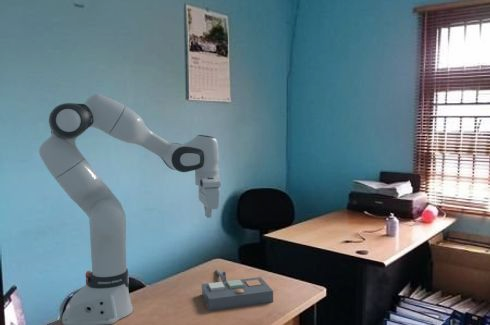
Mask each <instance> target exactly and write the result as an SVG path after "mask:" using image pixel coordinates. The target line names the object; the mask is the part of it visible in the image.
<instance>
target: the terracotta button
mask: <svg viewBox="0 0 490 325" xmlns="http://www.w3.org/2000/svg"><path fill="white" fill-rule="evenodd" d="M245 283H246V285H247V286H248V287H252V286H260V285H262V284H261V283H260V282H259V280H250V281H245Z"/></svg>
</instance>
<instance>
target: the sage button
mask: <svg viewBox="0 0 490 325" xmlns="http://www.w3.org/2000/svg"><path fill="white" fill-rule="evenodd" d="M226 281H227V286H228V288H229V289H236V288H244V284H243V283H242V282H241V279H233V280H226Z"/></svg>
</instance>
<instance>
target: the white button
mask: <svg viewBox="0 0 490 325" xmlns="http://www.w3.org/2000/svg"><path fill="white" fill-rule="evenodd" d="M208 288H209V290H210V292H212V291H220V290H225V286H224V285H223V283H222V281H218V282H217V281H216V282H209V283H208Z"/></svg>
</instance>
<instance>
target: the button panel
mask: <svg viewBox="0 0 490 325" xmlns="http://www.w3.org/2000/svg"><path fill="white" fill-rule="evenodd" d="M240 280H241V282H242V283H243V284H244V288H236V289H229V288H228V286H227V281H228V280H226V281H224V282H222V281H221V282H222V283H223V285H224V286H225V290H220V291H212V292H210V290H209V288H208V283H207V282H206V283H201V296H202V298H203V299H204V302H205V304H206V307H207V309H208V311H216V310H223V309H230V308H237V307H244V306H250V305H251V306H253V305H260V304H266V303H267V304H268V303H273V302H274V290H273V289H272V287H270V285H268V283H267V282H266V281H265V280H264V279H263V278H262V277H261V276H259V277H250V278H241V279H240ZM250 280H259V282H260V283H261V284H262V285H260V286H252V287H248V286H247V285H246V283H245V281H250Z"/></svg>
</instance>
